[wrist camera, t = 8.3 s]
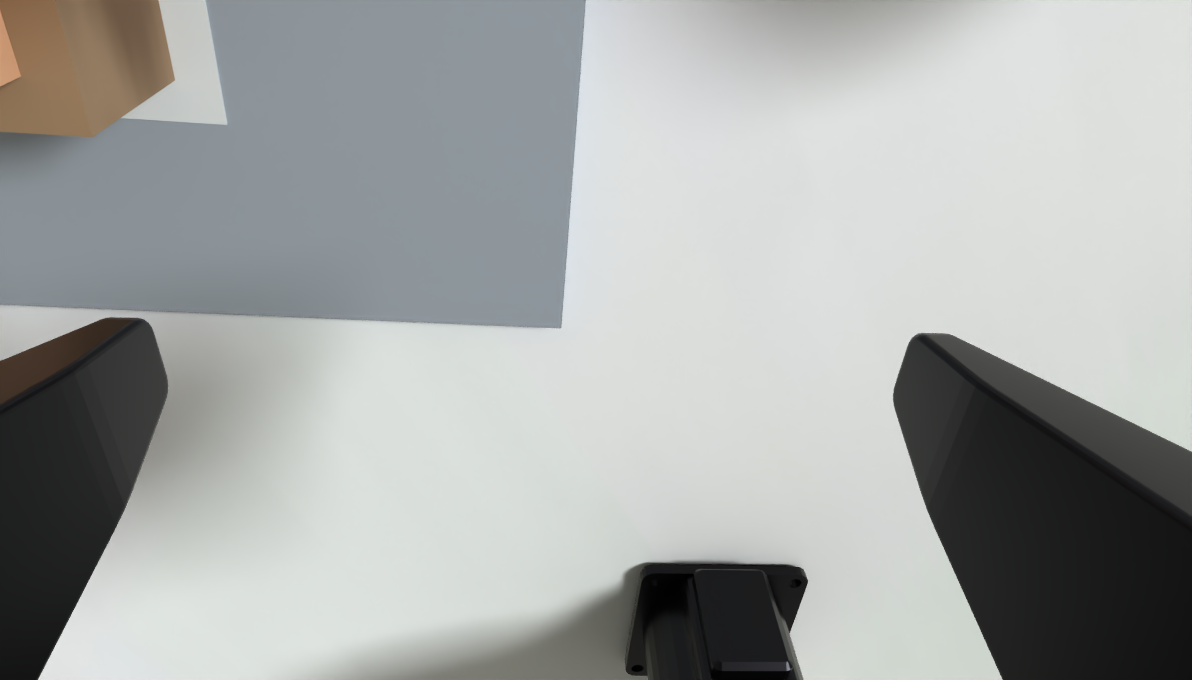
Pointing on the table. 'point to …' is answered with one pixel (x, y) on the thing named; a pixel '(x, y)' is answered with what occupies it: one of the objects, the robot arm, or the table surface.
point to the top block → (7, 57)
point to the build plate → (317, 169)
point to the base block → (81, 63)
